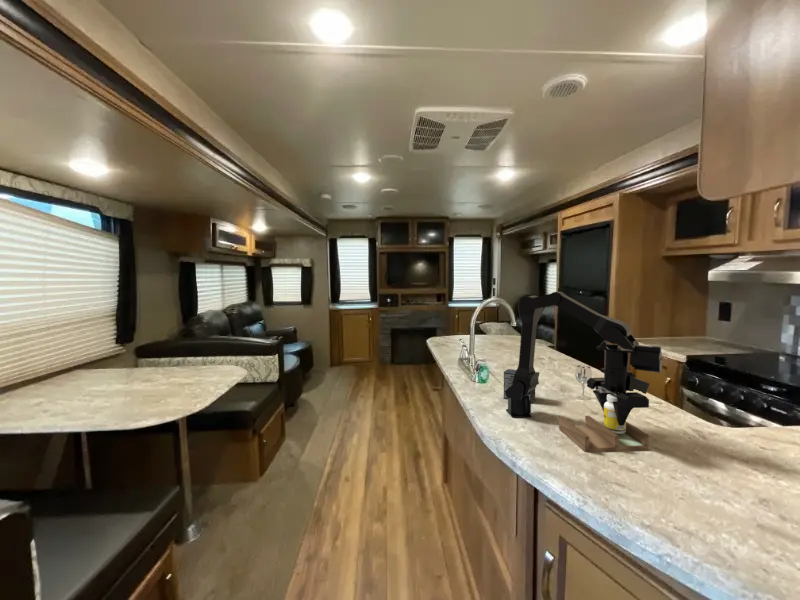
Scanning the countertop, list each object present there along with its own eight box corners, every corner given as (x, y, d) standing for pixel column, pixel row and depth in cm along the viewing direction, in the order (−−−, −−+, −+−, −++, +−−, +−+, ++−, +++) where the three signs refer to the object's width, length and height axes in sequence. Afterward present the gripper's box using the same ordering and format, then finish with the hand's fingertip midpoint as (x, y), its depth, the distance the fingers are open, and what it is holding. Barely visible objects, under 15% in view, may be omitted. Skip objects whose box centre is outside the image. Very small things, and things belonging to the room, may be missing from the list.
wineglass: (590, 401, 131) (590, 369, 131) (573, 398, 135) (573, 367, 134) (593, 397, 136) (593, 366, 135) (576, 394, 139) (576, 364, 139)
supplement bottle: (606, 424, 105) (607, 391, 104) (627, 429, 101) (628, 395, 101) (601, 430, 101) (601, 396, 100) (623, 436, 97) (624, 400, 97)
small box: (535, 398, 135) (536, 371, 135) (532, 404, 130) (532, 375, 129) (507, 394, 141) (507, 368, 140) (502, 399, 136) (503, 371, 135)
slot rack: (585, 451, 94) (585, 436, 93) (559, 429, 108) (559, 416, 107) (648, 449, 94) (648, 434, 94) (614, 427, 108) (614, 414, 108)
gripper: (670, 375, 91) (668, 435, 92) (622, 358, 110) (620, 408, 111) (627, 376, 91) (626, 436, 92) (586, 359, 109) (585, 409, 110)
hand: (614, 421), depth 101 cm, fingers closed on supplement bottle, 5 cm apart
